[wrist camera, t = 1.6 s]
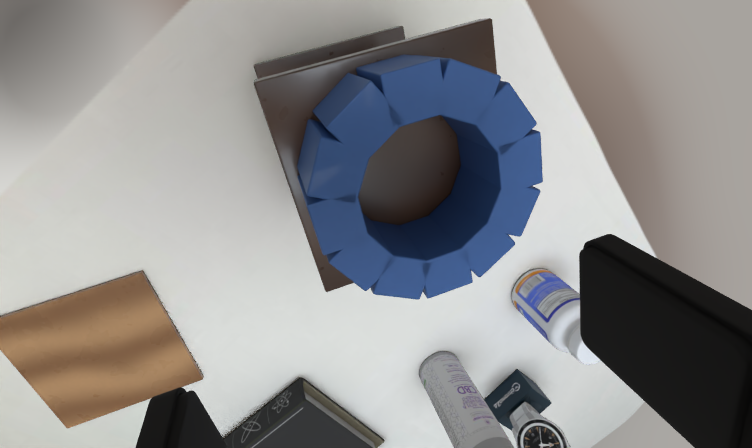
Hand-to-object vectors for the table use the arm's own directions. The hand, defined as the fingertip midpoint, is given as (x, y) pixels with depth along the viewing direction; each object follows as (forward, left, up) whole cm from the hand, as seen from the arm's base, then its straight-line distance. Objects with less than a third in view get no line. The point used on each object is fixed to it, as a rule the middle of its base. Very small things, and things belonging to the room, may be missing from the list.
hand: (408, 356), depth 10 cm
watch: (+37, +15, -26) cm, 47 cm away
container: (+29, +7, -26) cm, 39 cm away
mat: (+13, -21, -26) cm, 36 cm away
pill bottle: (+23, +19, -26) cm, 39 cm away
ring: (0, +4, -12) cm, 12 cm away
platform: (0, +4, -26) cm, 26 cm away
